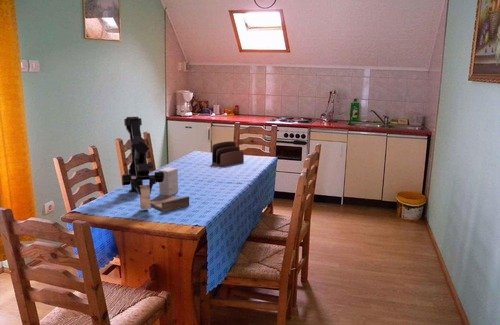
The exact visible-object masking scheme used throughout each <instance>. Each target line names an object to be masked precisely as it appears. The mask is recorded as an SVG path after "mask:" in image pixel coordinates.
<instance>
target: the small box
mask: <svg viewBox="0 0 500 325" xmlns="http://www.w3.org/2000/svg"><path fill="white" fill-rule="evenodd" d="M158 172H163V173H164V180H163V182H158V184H159V185H158V187H159V188H158V189H159V195H161V196H169V195H172V196H174V195H175V194H177V193H179V177H178V176H179V173H178V168H177V167H172V166H171V167H169V166H167V167H164V168H162V169H159V170H158Z"/></svg>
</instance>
